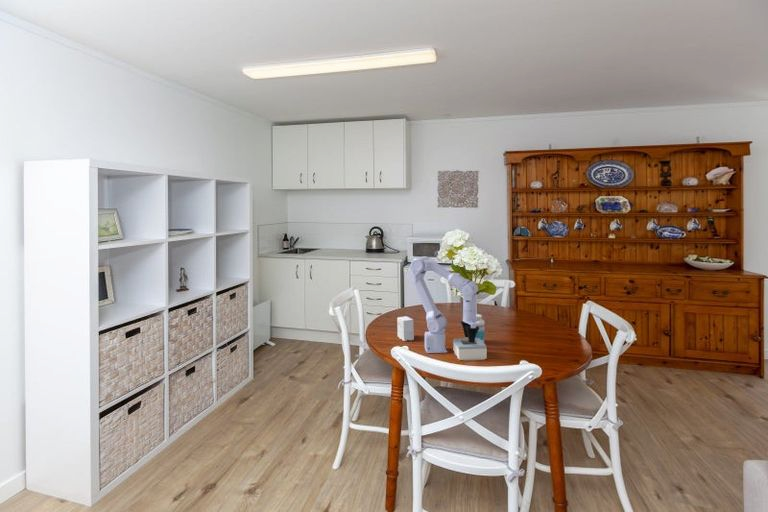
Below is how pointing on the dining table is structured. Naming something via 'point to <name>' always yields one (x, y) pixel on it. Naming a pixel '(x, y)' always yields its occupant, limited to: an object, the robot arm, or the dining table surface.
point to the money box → (469, 349)
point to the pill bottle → (480, 327)
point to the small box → (405, 328)
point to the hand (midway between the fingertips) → (469, 339)
